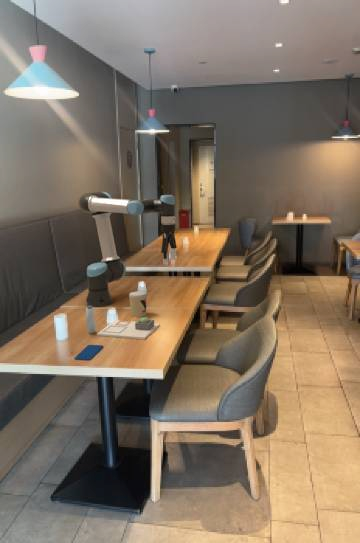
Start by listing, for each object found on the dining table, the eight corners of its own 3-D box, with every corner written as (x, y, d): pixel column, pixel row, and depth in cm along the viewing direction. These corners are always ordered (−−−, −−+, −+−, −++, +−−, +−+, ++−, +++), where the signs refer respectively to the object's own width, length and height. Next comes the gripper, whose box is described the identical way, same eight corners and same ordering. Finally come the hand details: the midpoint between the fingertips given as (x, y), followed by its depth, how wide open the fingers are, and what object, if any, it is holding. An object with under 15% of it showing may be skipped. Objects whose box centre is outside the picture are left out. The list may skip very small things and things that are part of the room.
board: (97, 335, 211) (96, 327, 210) (115, 322, 229) (115, 314, 228) (144, 339, 203) (144, 331, 203) (159, 325, 222) (159, 317, 221)
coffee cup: (145, 317, 235) (143, 295, 232) (127, 317, 237) (126, 295, 234) (149, 312, 244) (148, 291, 241) (133, 312, 246) (132, 290, 243)
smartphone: (73, 358, 184) (88, 344, 198) (73, 361, 184) (88, 346, 198) (90, 359, 182) (104, 345, 196) (90, 362, 182) (104, 347, 196)
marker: (86, 332, 215) (84, 307, 212) (90, 330, 218) (88, 305, 215) (93, 333, 214) (91, 307, 211) (96, 330, 217) (94, 305, 214)
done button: (139, 325, 215) (139, 319, 215) (142, 322, 219) (142, 317, 218) (147, 325, 214) (146, 320, 213) (150, 323, 218) (149, 317, 217)
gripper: (168, 226, 232) (169, 266, 236) (181, 221, 255) (182, 258, 260) (154, 226, 234) (155, 266, 238) (168, 221, 257) (169, 257, 262)
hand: (169, 262), depth 249 cm, fingers open, 13 cm apart
